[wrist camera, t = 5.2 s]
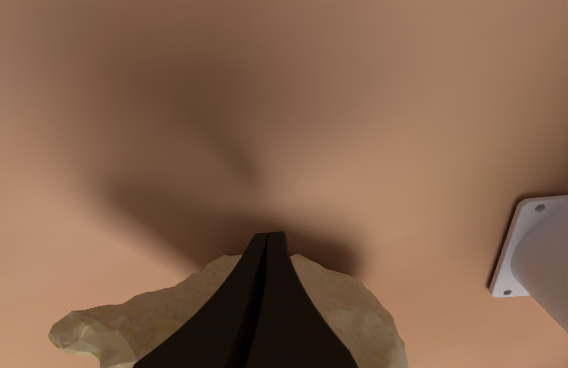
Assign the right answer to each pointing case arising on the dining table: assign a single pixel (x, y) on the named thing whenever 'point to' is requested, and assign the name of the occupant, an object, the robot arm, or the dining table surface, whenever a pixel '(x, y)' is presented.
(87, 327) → the cheese
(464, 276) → the dining table surface
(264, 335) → the robot arm
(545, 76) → the dining table surface
